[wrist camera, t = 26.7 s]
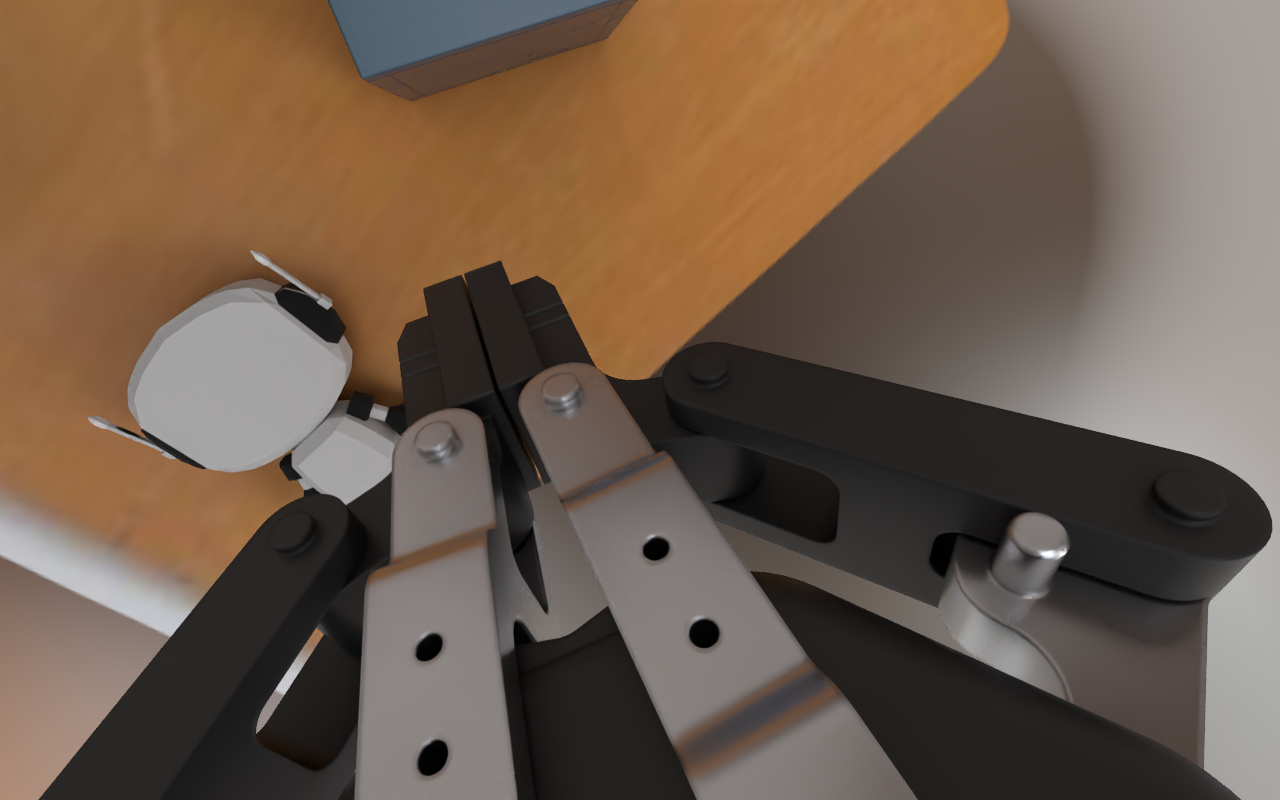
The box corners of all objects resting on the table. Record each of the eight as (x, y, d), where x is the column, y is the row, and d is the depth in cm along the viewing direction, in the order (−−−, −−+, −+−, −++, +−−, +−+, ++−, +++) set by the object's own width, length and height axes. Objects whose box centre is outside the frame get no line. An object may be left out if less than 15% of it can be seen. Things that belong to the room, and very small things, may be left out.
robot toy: (484, 407, 39) (268, 226, 32) (484, 442, 35) (238, 243, 28) (349, 530, 40) (115, 382, 33) (334, 577, 36) (66, 420, 29)
